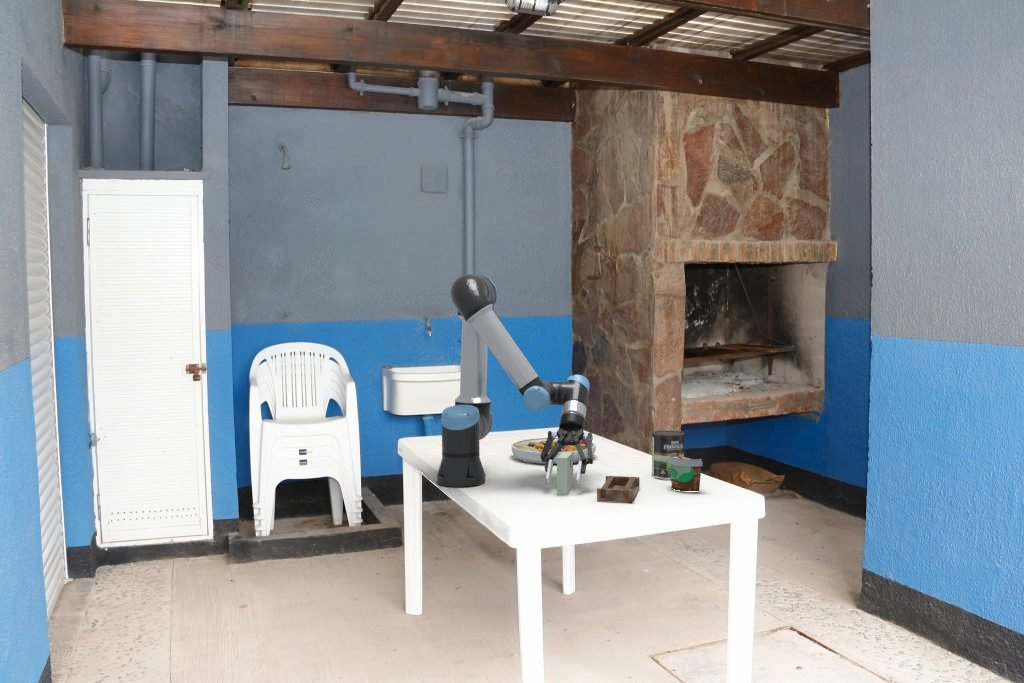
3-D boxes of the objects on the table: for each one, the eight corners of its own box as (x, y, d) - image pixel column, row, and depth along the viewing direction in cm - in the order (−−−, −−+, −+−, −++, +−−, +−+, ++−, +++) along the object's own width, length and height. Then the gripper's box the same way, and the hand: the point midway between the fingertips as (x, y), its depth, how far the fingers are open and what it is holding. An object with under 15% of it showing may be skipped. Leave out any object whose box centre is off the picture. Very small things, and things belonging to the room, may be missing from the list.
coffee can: (690, 478, 268) (690, 434, 267) (660, 481, 265) (660, 436, 264) (675, 472, 278) (675, 429, 277) (646, 474, 275) (646, 431, 274)
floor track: (597, 501, 240) (596, 489, 240) (606, 487, 257) (606, 475, 257) (632, 503, 237) (632, 490, 237) (639, 488, 255) (639, 477, 254)
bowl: (565, 470, 283) (565, 447, 283) (494, 460, 301) (494, 438, 301) (611, 456, 307) (611, 434, 307) (543, 448, 325) (543, 427, 325)
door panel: (556, 495, 248) (556, 457, 247) (563, 487, 257) (563, 451, 257) (567, 495, 247) (567, 458, 246) (573, 488, 257) (573, 451, 256)
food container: (659, 487, 256) (659, 454, 256) (674, 484, 259) (675, 452, 259) (686, 495, 246) (686, 461, 245) (702, 493, 249) (702, 459, 248)
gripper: (608, 427, 263) (600, 490, 249) (541, 425, 269) (530, 486, 254) (605, 412, 258) (597, 476, 243) (537, 410, 263) (525, 472, 249)
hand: (563, 481), depth 249 cm, fingers open, 8 cm apart
